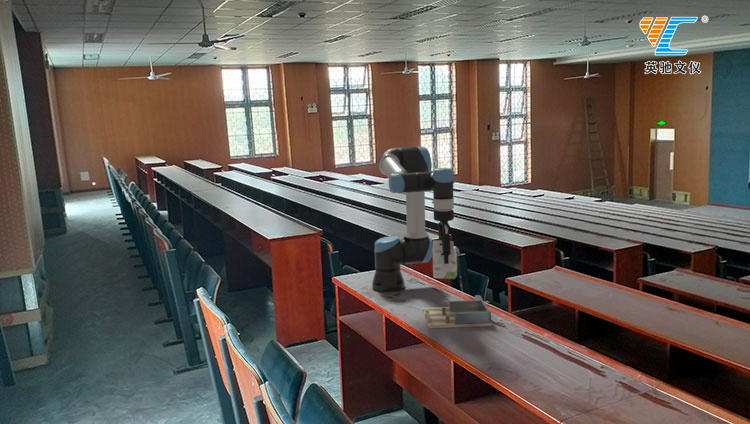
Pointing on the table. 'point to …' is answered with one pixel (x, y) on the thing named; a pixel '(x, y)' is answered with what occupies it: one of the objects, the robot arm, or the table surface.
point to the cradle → (446, 318)
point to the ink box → (438, 261)
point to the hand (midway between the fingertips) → (444, 269)
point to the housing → (470, 306)
